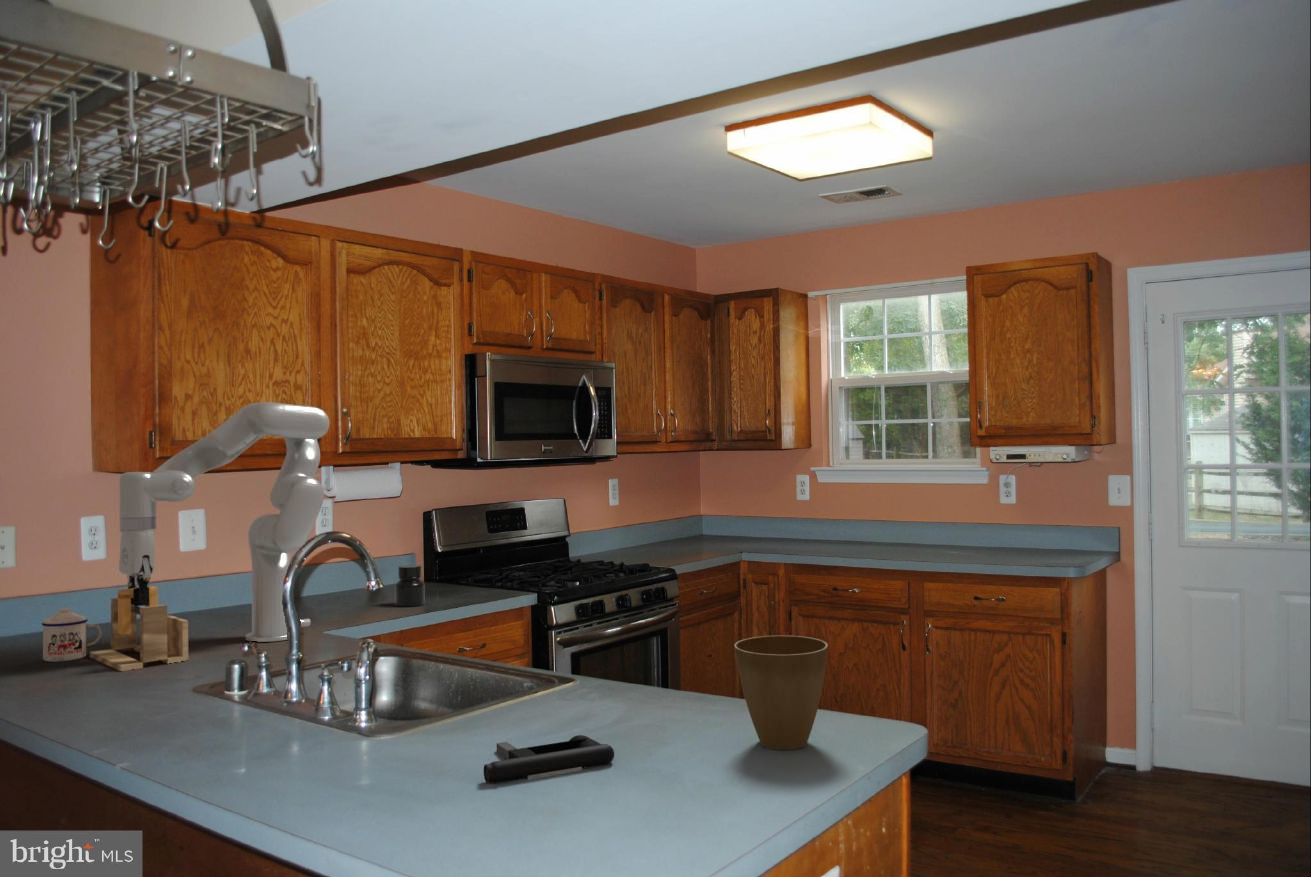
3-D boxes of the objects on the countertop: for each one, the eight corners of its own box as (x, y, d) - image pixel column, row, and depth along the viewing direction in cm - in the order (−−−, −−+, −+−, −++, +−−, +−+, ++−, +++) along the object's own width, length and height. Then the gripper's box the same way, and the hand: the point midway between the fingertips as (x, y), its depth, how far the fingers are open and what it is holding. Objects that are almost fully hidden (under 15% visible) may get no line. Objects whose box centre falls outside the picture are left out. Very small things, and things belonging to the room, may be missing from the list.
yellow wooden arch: (153, 628, 225) (153, 586, 225) (158, 630, 223) (157, 587, 223) (118, 633, 220) (117, 589, 220) (122, 634, 218) (122, 591, 218)
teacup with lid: (42, 664, 217) (42, 612, 217) (41, 657, 224) (41, 607, 224) (103, 657, 223) (103, 607, 224) (100, 651, 231) (100, 602, 231)
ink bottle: (427, 602, 301) (426, 564, 301) (425, 606, 292) (424, 567, 292) (395, 603, 299) (394, 564, 299) (392, 607, 291) (392, 568, 291)
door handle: (459, 743, 148) (490, 767, 134) (579, 725, 158) (620, 746, 143) (460, 765, 148) (491, 791, 134) (579, 746, 157) (621, 769, 143)
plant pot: (777, 724, 164) (776, 631, 164) (848, 744, 153) (846, 643, 153) (716, 742, 154) (715, 643, 154) (786, 765, 143) (785, 658, 143)
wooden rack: (89, 657, 224) (89, 600, 224) (153, 647, 234) (153, 593, 234) (121, 671, 209) (121, 610, 209) (188, 660, 219) (188, 603, 219)
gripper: (108, 524, 225) (109, 602, 225) (132, 528, 213) (133, 610, 213) (143, 522, 230) (143, 599, 230) (168, 525, 219) (168, 606, 219)
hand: (138, 603), depth 222 cm, fingers closed on yellow wooden arch, 3 cm apart
